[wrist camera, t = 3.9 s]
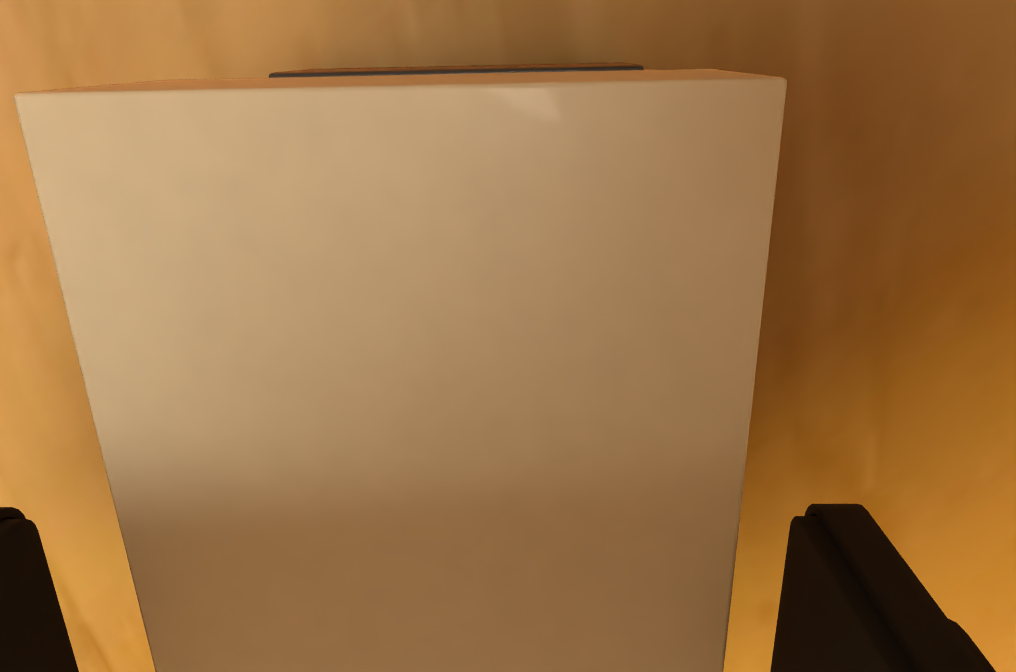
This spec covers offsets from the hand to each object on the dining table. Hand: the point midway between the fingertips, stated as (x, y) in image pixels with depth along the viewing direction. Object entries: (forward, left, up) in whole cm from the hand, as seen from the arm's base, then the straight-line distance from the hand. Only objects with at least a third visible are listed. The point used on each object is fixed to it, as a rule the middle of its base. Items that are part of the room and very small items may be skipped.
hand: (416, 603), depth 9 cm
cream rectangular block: (0, 0, -3) cm, 3 cm away
